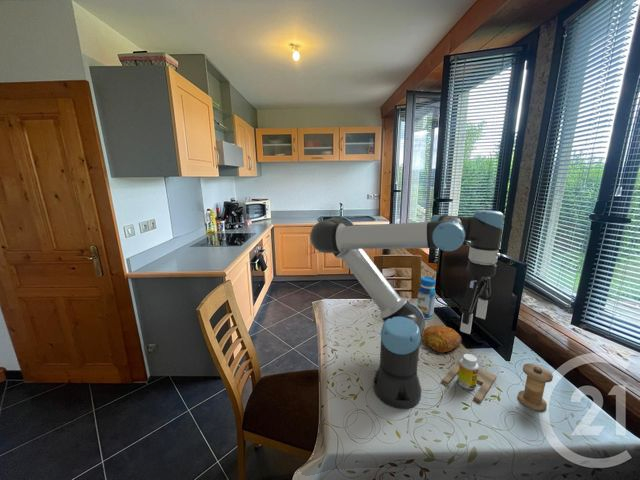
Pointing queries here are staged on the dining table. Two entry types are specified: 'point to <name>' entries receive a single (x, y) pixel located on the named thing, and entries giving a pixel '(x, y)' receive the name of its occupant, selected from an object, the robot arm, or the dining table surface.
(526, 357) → the dining table surface
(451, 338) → the golden brown rounded loaf
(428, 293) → the beverage bottle
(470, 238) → the robot arm
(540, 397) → the bobbin
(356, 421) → the dining table surface
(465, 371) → the supplement bottle
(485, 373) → the notched board
